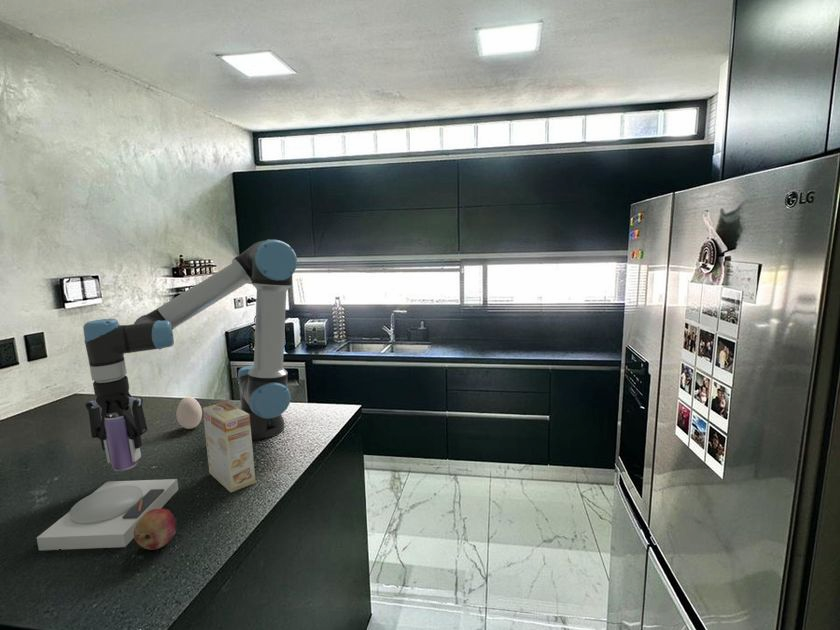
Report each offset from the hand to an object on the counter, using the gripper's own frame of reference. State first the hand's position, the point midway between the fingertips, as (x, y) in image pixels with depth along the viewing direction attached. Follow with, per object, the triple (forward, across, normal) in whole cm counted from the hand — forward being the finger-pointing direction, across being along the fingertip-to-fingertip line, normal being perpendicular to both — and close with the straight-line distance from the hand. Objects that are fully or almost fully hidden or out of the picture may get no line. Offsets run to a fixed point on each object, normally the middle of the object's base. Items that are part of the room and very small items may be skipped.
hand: (124, 459), depth 118 cm
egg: (+7, 0, -35) cm, 35 cm away
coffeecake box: (+7, -28, 0) cm, 29 cm away
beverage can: (+2, 0, 0) cm, 2 cm away
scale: (+6, -7, +16) cm, 19 cm away
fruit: (+7, -23, +27) cm, 37 cm away
